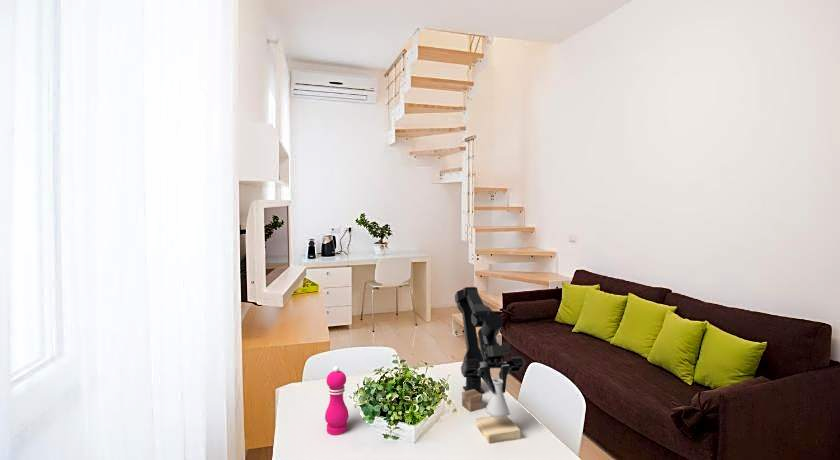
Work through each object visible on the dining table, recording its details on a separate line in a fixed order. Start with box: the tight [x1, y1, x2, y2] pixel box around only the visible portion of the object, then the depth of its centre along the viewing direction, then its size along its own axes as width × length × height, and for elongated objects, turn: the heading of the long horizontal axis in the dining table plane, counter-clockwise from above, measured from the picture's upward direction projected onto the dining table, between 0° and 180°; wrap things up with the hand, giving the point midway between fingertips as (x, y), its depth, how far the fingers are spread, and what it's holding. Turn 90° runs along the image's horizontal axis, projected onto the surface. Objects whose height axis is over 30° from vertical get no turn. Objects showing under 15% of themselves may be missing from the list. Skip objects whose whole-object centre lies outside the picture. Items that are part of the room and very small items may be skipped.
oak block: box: [475, 415, 522, 445], centre depth 125 cm, size 10×10×3 cm
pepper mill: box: [324, 365, 350, 436], centre depth 127 cm, size 7×7×20 cm
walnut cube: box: [461, 389, 483, 413], centre depth 141 cm, size 5×5×5 cm
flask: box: [485, 378, 511, 417], centre depth 125 cm, size 7×7×10 cm
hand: (499, 392), depth 123 cm, fingers closed on flask, 3 cm apart
